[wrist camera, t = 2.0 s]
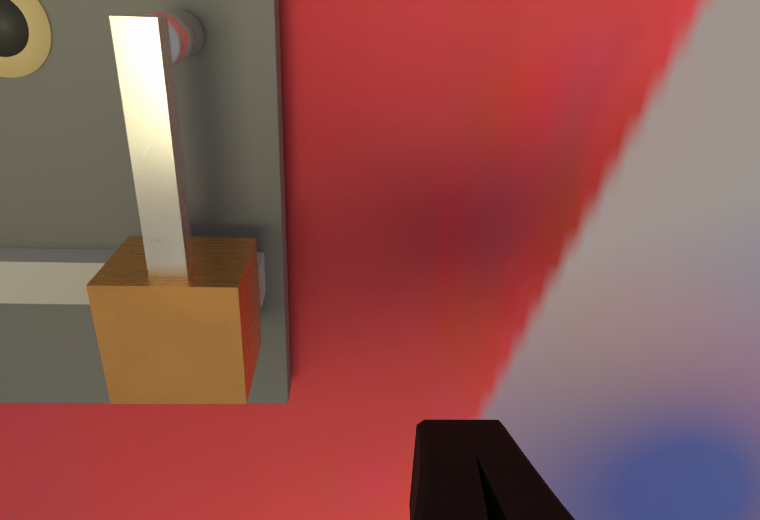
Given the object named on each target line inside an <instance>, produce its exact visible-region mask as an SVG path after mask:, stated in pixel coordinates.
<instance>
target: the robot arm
mask: <svg viewBox="0 0 760 520" xmlns="http://www.w3.org/2000/svg"><path fill="white" fill-rule="evenodd" d="M409 505H410V520H575V519H574V518H573V517H572V515H571V514H570V513H569V512H568V511H567V509H566V508H565V507H564V506H563V505H562V503H561V502H560V501H559V499H558V498H557V497H556V496H555V494H554V493H553V492H552V491H551V489H550V488H549V487H548V485H547V484H546V483H545V481H544V480H543V479H542V477H541V476H540V475H539V473H538V472H537V471H536V470H535V468H534V467H533V466H532V464H531V463H530V461H529V460H528V459H527V457H526V456H525V455H524V453H523V452H522V451H521V449H520V448H519V447H518V445H517V444H516V442H515V441H514V440H513V438H512V437H511V435H510V434H509V433H508V431H507V430H506V428H505V427H504V426H503V425H502V423H501V422H500V421H499V420H423V421H422V422H420V423H419V424H418V425H417V427H416V438H415V449H414V460H413V471H412V482H411V493H410V504H409Z"/></svg>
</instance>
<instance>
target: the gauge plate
mask: <svg viewBox="0 0 760 520" xmlns="http://www.w3.org/2000/svg"><path fill="white" fill-rule="evenodd" d="M174 9H179V10H184V11H187V12H189V13H190V14H192V15H193V16H194V17H195V18H196V19H197V20H198V22H199V23H200V25H201V27H202V30H203V34H204V40H203V45H202V47H201V49H200V51H199V52H198V53H197V54H196V55H194V56H193V57H190V58H188V59H186V60H184V61H182V62H180V63H178V64H176V65H174V66H173V71H174V80H175V90H176V99H177V108H178V117H179V126H180V135H181V144H182V153H183V162H184V171H185V180H186V189H187V199H188V208H189V217H190V226H191V235H192V237H227V238H256V247H257V264H258V282H259V300H260V317H261V335H262V343H261V347H260V351H259V356H258V360H257V364H256V368H255V372H254V376H253V380H252V384H251V388H250V392H249V397H248V401H247V404H288V400H289V394H290V387H291V366H290V334H289V302H288V271H287V239H286V207H285V175H284V144H283V112H282V80H281V49H280V17H279V0H0V403H110V400H109V395H108V390H107V385H106V380H105V375H104V370H103V366H102V361H101V356H100V351H99V346H98V341H97V336H96V332H95V327H94V322H93V317H92V312H91V307H90V302H89V298H88V293H87V288H86V285H87V284H88V283H89V281H90V280H91V279H92V278H93V277H94V276H95V275H96V273H97V272H98V271H99V270H100V269H101V268H102V266H103V265H104V264H105V263H106V262H107V261H108V260H109V258H110V257H111V256H112V255H113V254H114V253H115V251H116V250H117V249H118V248H119V247H120V246H121V245H122V243H123V242H124V241H125V240H126V239H127V238H128V236H142V230H141V224H140V217H139V211H138V204H137V197H136V191H135V184H134V177H133V171H132V164H131V157H130V151H129V144H128V138H127V131H126V124H125V118H124V111H123V104H122V98H121V91H120V85H119V78H118V71H117V65H116V58H115V51H114V45H113V38H112V32H111V25H110V18H109V16H110V15H117V14H138V15H143V14H150V13H156V12H162V11H168V10H174Z"/></svg>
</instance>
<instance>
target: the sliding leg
mask: <svg viewBox="0 0 760 520" xmlns="http://www.w3.org/2000/svg"><path fill="white" fill-rule="evenodd" d="M109 18H110V25H111V32H112V38H113V45H114V51H115V58H116V65H117V71H118V78H119V85H120V91H121V98H122V104H123V111H124V118H125V124H126V131H127V138H128V144H129V151H130V157H131V164H132V171H133V177H134V184H135V191H136V197H137V204H138V211H139V217H140V224H141V230H142V236H128V238H127V239H126V240H125V241H124V242H123V243H122V245H121V246H120V247H119V248H118V249H117V250H116V251H115V253H114V254H113V255H112V256H111V257H110V258H109V260H108V261H107V262H106V263H105V264H104V265H103V266H102V268H101V269H100V270H99V271H98V272H97V273H96V275H95V276H94V277H93V278H92V279H91V280H90V281H89V283H88V284H87V285H86V288H87V293H88V298H89V302H90V307H91V312H92V317H93V322H94V327H95V332H96V336H97V341H98V346H99V351H100V356H101V361H102V366H103V370H104V375H105V380H106V385H107V390H108V395H109V400H110V404H247V401H248V397H249V392H250V388H251V384H252V380H253V376H254V372H255V368H256V364H257V360H258V356H259V351H260V347H261V343H262V335H261V317H260V300H259V282H258V264H257V247H256V238H227V237H192V235H191V226H190V217H189V208H188V199H187V189H186V180H185V171H184V162H183V153H182V144H181V135H180V126H179V117H178V108H177V99H176V90H175V80H174V71H173V66H174V65H176V64H178V63H180V62H182V61H184V60H186V59H188V58H190V57H193V56H194V55H196V54H197V53H198V52H199V51H200V49H201V47H202V45H203V40H204V34H203V30H202V27H201V25H200V23H199V22H198V20H197V19H196V18H195V17H194V16H193V15H192V14H190V13H189V12H187V11H184V10H179V9H174V10H168V11H162V12H156V13H150V14H143V15H138V14H117V15H110V16H109Z"/></svg>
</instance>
